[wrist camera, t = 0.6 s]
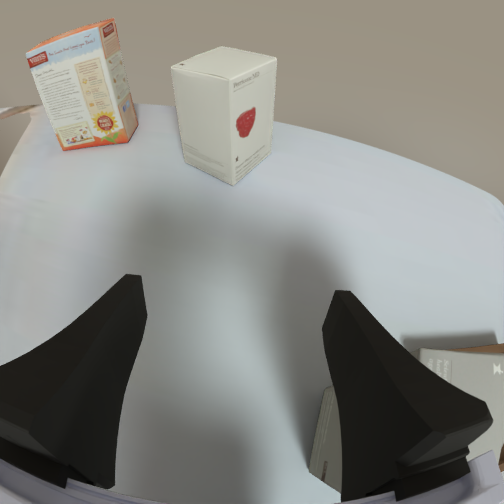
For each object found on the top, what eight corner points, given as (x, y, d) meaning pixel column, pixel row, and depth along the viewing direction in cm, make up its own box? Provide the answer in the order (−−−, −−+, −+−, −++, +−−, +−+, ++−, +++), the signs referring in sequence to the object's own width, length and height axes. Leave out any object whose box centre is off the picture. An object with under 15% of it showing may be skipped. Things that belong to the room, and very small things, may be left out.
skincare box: (322, 388, 24) (404, 332, 11) (393, 395, 24) (512, 342, 10) (304, 477, 20) (375, 528, 7) (380, 479, 19) (500, 501, 6)
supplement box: (233, 188, 37) (228, 79, 25) (183, 163, 40) (167, 66, 28) (273, 153, 42) (279, 56, 29) (224, 132, 44) (220, 44, 32)
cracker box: (139, 124, 47) (116, 15, 29) (128, 144, 43) (97, 26, 26) (76, 132, 47) (44, 38, 30) (62, 152, 44) (23, 53, 26)
